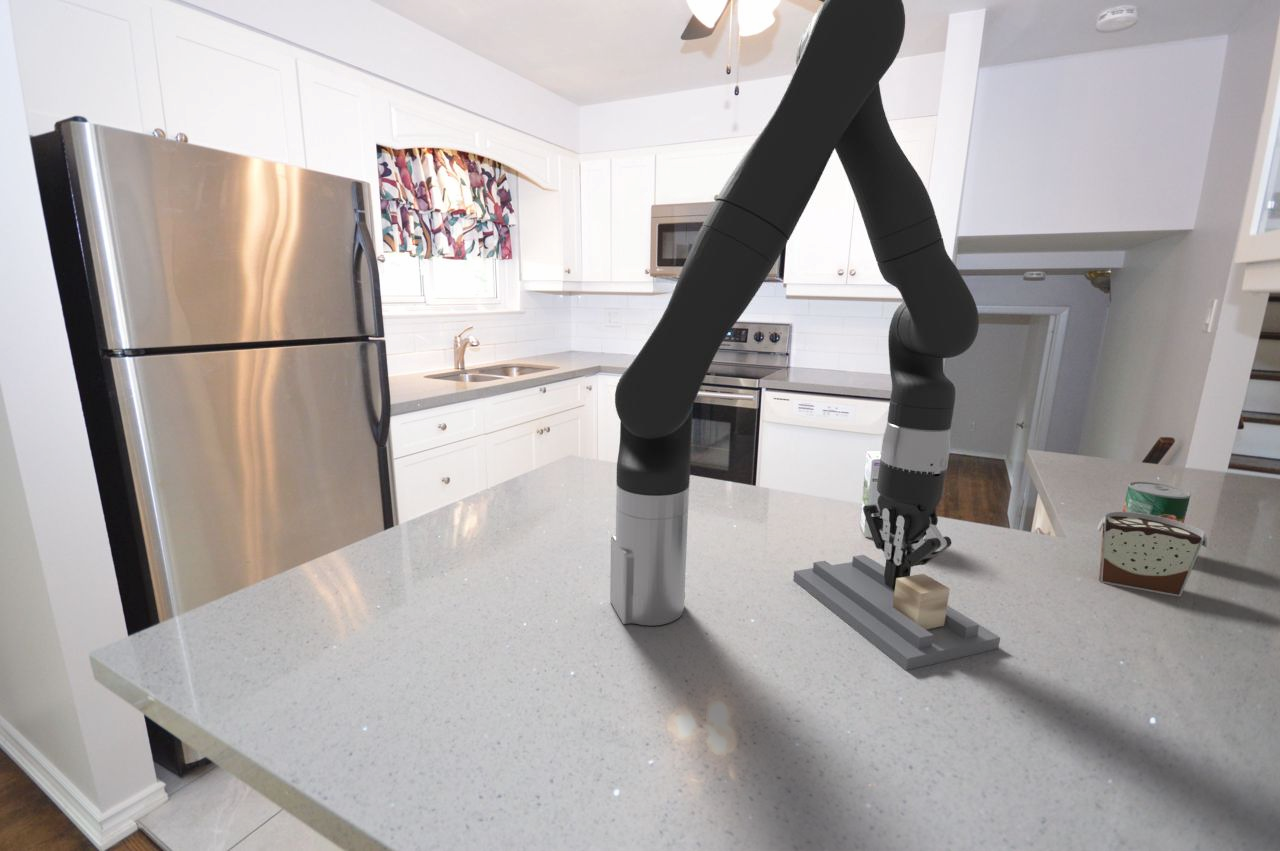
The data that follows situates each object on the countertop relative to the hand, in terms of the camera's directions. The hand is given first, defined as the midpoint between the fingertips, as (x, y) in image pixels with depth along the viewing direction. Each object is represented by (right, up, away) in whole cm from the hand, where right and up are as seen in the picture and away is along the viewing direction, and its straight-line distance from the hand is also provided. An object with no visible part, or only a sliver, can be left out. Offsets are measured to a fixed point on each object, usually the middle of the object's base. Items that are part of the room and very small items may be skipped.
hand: (895, 587), depth 75 cm
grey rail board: (-1, -4, +2) cm, 4 cm away
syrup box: (+9, +2, +28) cm, 30 cm away
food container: (+41, -3, +12) cm, 43 cm away
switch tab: (+1, -3, -3) cm, 5 cm away
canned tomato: (+53, 0, +24) cm, 58 cm away
